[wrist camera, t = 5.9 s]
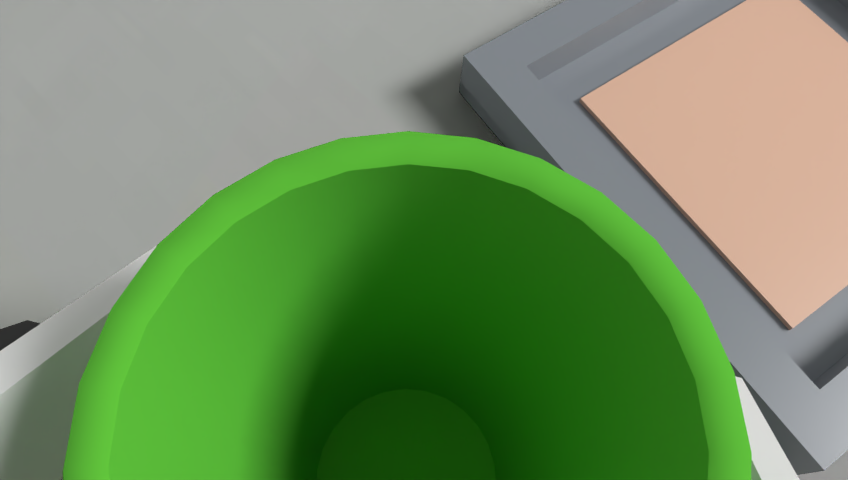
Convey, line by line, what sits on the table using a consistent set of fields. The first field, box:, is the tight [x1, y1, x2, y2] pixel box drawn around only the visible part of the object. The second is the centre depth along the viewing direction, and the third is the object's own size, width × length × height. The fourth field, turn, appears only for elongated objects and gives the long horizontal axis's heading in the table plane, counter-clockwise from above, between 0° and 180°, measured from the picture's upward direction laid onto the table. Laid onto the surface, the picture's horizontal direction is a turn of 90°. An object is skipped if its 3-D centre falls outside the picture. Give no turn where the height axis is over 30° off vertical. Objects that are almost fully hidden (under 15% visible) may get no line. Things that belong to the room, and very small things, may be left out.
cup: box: [63, 131, 752, 480], centre depth 14 cm, size 9×9×11 cm
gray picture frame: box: [459, 0, 848, 475], centre depth 23 cm, size 16×16×2 cm
